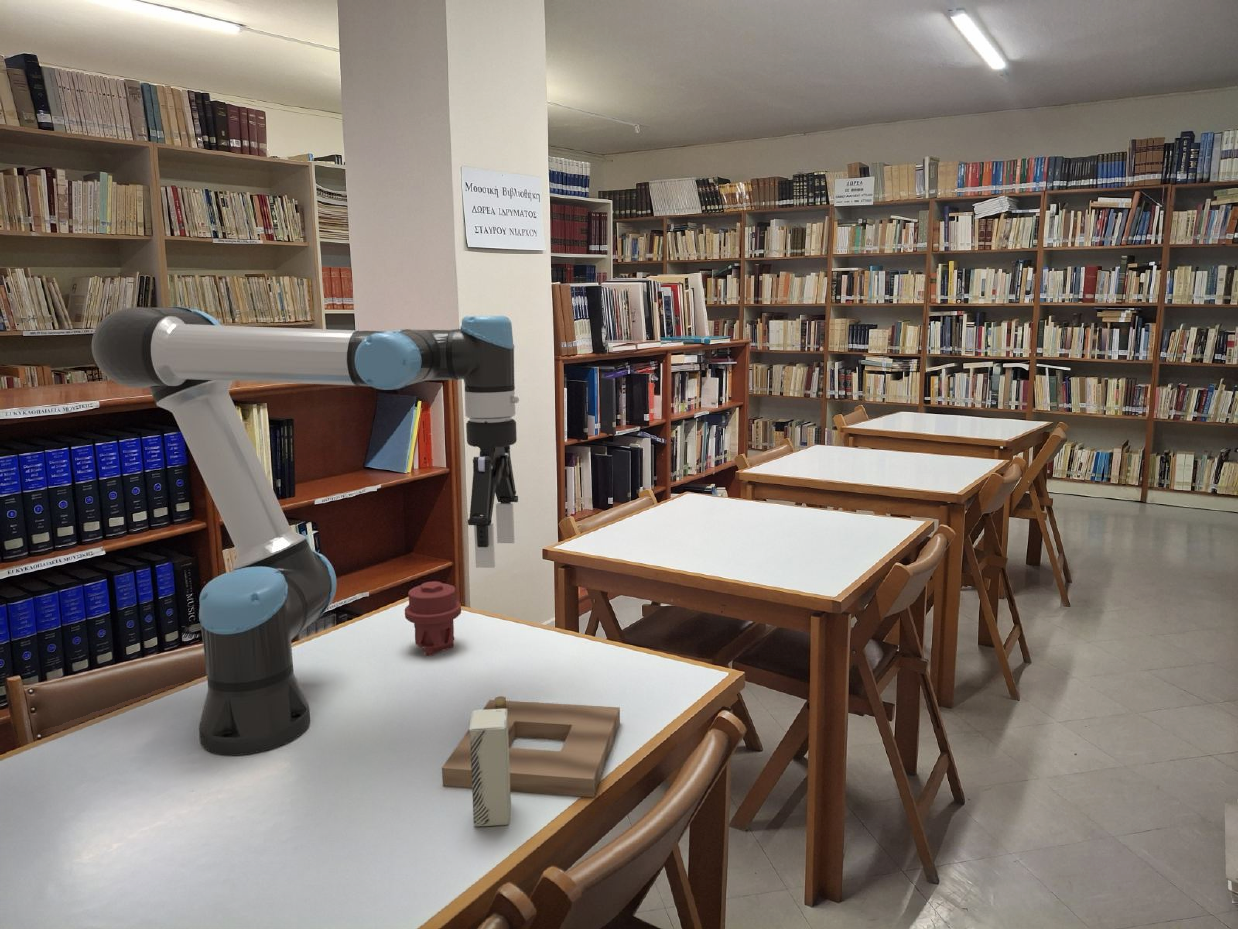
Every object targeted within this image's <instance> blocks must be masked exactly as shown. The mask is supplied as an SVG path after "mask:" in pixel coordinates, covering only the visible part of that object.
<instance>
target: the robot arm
mask: <svg viewBox="0 0 1238 929" xmlns="http://www.w3.org/2000/svg"><path fill="white" fill-rule="evenodd" d="M91 351H92V352H91V353H92V357H93V359H94V361H95V362H94V363H96V366H97V367H98V368H99V370H100V371H101V372H102V373H103V374H104V375H105V377H107V378H109V379H110V380H112V381H113V382H114V383H116V384H119V385H121V386H124V387H126V388H132V389H133V388H134V389H149V391H150V393H151V396H152V398H153V399H154V402H155V404H156V406H157V407H159V408H162V409H164V410H167V411H169V412H170V413H172V415H173V417H174V419H175V421H176V424H177V425H178V428H179V430H180V432H181V434H182V436H183V438H184V441H185V443H186V445H187V447H188V449H189V451H190V454H191V455H192V457H193V460H194V462H195V464H196V466H197V469H198V470H199V473H200V475H201V477H202V479H203V481H204V484H205V485H206V487H207V489H208V492H209V494H210V496H211V499H212V500H213V502H214V505H215V507H216V509H217V510H218V512H219V516H220V518H221V519H222V522H223V523H224V526H225V528H226V530H227V532H228V534H229V538H230V539H231V541H232V543H233V545H234V548H235V550H236V551H237V556H236V558H235V561H234V564H233V566H232V567H233V571H232V572H225V573H223V574H220V575H218V576H217V577H214V578H212V580H210V581H208V582H207V583H206V585H205V584H204V586H203V588H202V589H201V592H200V594H199V598H198V599H199V601H198V602H199V609H198V620H199V622H200V627H201V628H200V630H201V637H202V646H203V653H204V662H205V670H206V679H207V692H206V696H205V700H204V704H203V708H202V714H201V717H200V720H199V724H198V731H199V732H198V733H199V741H200V742H199V743H200V746H201V747H203V749H204V750H206V751H208V752H211V753H214V754H218V755H227V756H228V755H229V756H236V755H237V756H238V755H249V754H250V755H251V754H256V753H260V752H264V751H265V752H266V751H269V750H271V749H275V748H277V747H280V746H284V745H285V744H287V743H289V742H292V741H293V740H295V739H297V738H298V737H300V736H301V735H302V734H304V733H305V732H306V731H307V729H308V728H309V727H310V724H311V712H310V711H311V709H310V704H309V702H308V700H307V699H306V696H305V694H304V692H303V690H302V688H301V686H300V682H299V681H298V679H297V677H296V675H295V671H294V663H293V662H294V661H293V659H294V658H293V652H292V650H293V649H292V640H293V639H294V638H295V637H297V636H298V635H299V634H300V633H301V632H303V631H304V630H305V629H307V627H309V626H310V625H312V624H314V623H315V622H317V621H318V620H319V619H320V618H322V616H323V615H324V614H325V612H326V611H327V609H329V607H330V606H331V605H332V603H333V601H334V598H335V595H336V592H337V587H338V586H337V576H336V572H335V569H334V567H333V565H332V563H331V562H330V560H328V558H327V557H326V556H325V555H323V554H322V553H319V552H318V551H316V550H314V549H312V548H311V546H310V544H309V542H308V539H307V538H306V536H305V535H303V534H300V533H298V532H295V531H294V530H292V529H291V526H290V524H289V522H288V520H287V518H286V516H285V513H284V511H283V509H282V506H281V505H280V502H279V499H278V498H277V495H276V493H275V491H274V489H273V487H272V485H271V483H270V480H269V478H268V476H267V474H266V471H265V469H264V467H263V464H262V462H261V460H260V459H259V456H258V454H257V452H256V450H255V447H254V446H253V443H252V441H251V439H250V436H249V435H248V432H247V430H246V428H245V425H244V424H243V421H242V419H241V416H240V415H239V412H238V410H237V409H236V406H235V404H234V401H233V400H232V397H231V394H230V388H231V386H232V384H233V382H252V383H253V382H256V383H279V384H280V383H281V384H282V383H285V384H306V385H307V384H309V385H314V384H315V385H337V386H340V385H341V386H362V387H372V388H374V389H377V390H384V391H387V390H388V391H390V390H391V391H392V390H400V389H402V388H405V387H406V386H409V385H413V384H417V383H421V382H424V381H440V380H441V381H445V380H448V381H451V380H453V381H459V380H463V384H464V410H465V413H464V414H465V415H464V416H465V417H466V418H468V419H469V420H467V422H466V423H465V426H466V427H465V428H466V429H465V430H466V444H467V445H468V446H470V447H475V448H476V447H477V448H479V456H473V459H472V464H473V466H472V467H473V468H472V470H473V471H472V472H473V473H472V484H471V487H472V488H471V497H470V498H471V499H470V509H469V510H470V511H469V512H470V513H469V518H467V524H468V525H467V526H473V527H474V528H473V530H474V531H473V532H474V534H473V535H474V556H475V568H477V569H478V568H484V569H486V568H488V569H489V568H490V569H492V568H493V569H494V568H495V567H496V560H495V558H496V556H495V554H496V553H495V535H494V534H495V532H494V529H495V528H494V523H492V521H493V520H492V518H493V512H494V504H495V517H496V518H495V519H496V521H495V522H496V539H497V540H496V542H497V544H515V517H514V516H515V515H514V503H518V502H519V495H517V490H516V485H515V479H514V472H513V464H512V460H511V446H513V445H515V444H516V443H517V440H518V438H517V421H516V420H515V419H514V418H512V417H514V416H515V415H516V404H518V403H519V401H520V399H519V397H518V396H515V394H516V393H515V344H514V336H513V324H512V321H511V320H510V318H509V317H507V316H505V315H469V316H467V315H466V316H463V317H462V319H461V326H460V328H456V329H410V328H408V329H407V328H405V329H399V330H389V331H386V330H385V331H382V330H378V331H377V330H352V329H351V330H350V329H327V328H326V329H325V328H324V329H323V328H302V327H301V328H299V327H297V328H296V327H295V328H294V327H269V326H248V325H247V326H242V325H223V324H221V323H220V322H219V321H218V320H216V318H214V317H213V316H211V315H210V314H208V313H206V312H204V311H202V310H199V309H195V308H193V309H192V308H190V307H185V306H169V307H141V306H136V307H125V308H122V309H118V310H115V311H112V312H111V313H109V314H108V315H106V316H105V317H104V318H102V320H101V321H100V322H99V323H98V324H97V326H96V328H95V329H94V331H93V335H92V339H91ZM495 497H496V500H497V503H495Z"/></svg>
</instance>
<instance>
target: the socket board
mask: <svg viewBox="0 0 1238 929" xmlns="http://www.w3.org/2000/svg"><path fill="white" fill-rule="evenodd" d="M620 708H621V707H615V706H602V705H601V706H600V705H585V704H584V705H583V704H568V703H566V704H565V703H555V702H554V703H553V702H551V703H550V702H534V701H519V700H518V701H517V700H516V701H515V700H507V697H506V696H503V695H502V696H496V697H495V698H494V699H489V700H488V702H487V703H486V704H485V706H484V707H483V709H482V710H487V709H507V712H508V736H509V765H510V792H519V793H533V794H544V795H545V794H547V795H557V796H558V795H560V796H570V797H571V796H572V797H583V798H595V795H596V793H597V789H598V787H599V784H600V781H601V778H602V775H603V773H604V770H605V768H606V765H607V761H608V758H609V755H610V752H611V750H612V748H613V745H614V742H615V738H616V736H617V733H618V731H619V727H620V725H621V715H620V714H621V709H620ZM515 738H520V739H538V740H548V741H549V740H551V741H553V740H554V741H564V742H563V745H562V747H561V748H560V750H549V749H547V750H546V749H537V748H536V749H533V748H521V747H518V748H517V747H511V746H512V744H513V742H514V741H515ZM471 773H472V771H471V746H470V730H469V729H468V730H467V732H466V733H465V734H464V736H463V737H462V739H461V740H460V741H459V742H458V744H457V746H456V747H455V748H454V750H453V751H452V753H451V754H450V756H449V757H448V759H447V760H446V761H445V762H444V764H443V765H442V767H441V779H442V786H444V787H453V788H454V787H456V788H457V787H458V788H465V789H466V788H467V789H469V788H471V789H472V774H471Z"/></svg>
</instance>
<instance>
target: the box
mask: <svg viewBox="0 0 1238 929" xmlns="http://www.w3.org/2000/svg"><path fill="white" fill-rule="evenodd" d="M468 730H470V746H471V771H472V773H471V774H472V788H471V790H472V791H471V792H472V793H471V794H472V815H473V826H474V827H491V826H493V827H494V826H505V825H509V824H510V822H511V821H510V820H511V810H512V809H511V808H512V807H511V806H512V798H511V796H512V795H511V791H510V765H509V736H508V712H507V709H487V710H483V709H474V710H472V713H471V715H470V722H469V728H468Z"/></svg>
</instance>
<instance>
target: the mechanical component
mask: <svg viewBox="0 0 1238 929" xmlns="http://www.w3.org/2000/svg"><path fill="white" fill-rule="evenodd" d="M456 594H457V593H456V587H455V586H454V585H451V584H448V583H442V582H440V581H436V580H435V581H434V580H433V581H427V582H423V583H422V584H421V585H417V586H415V587H413V588H411V589H410V590H408V605H407V606H406V607H405V608H404V618H405V619H406V620H407V621H408V622H410V623H412V624H413V625H414V626H413V627H414V642H415V645H416V646H417V647H419V648H423V649H424V654H425V656H428V657H431V656H433V655H435V654H437V653H439V652H442V651H445V650H448V649H452V648H453V647H454V644H455V643H454V641H455V635H454V634H455V631H454V630H455V626H454V624H455V623H454V620H455V619H457V618H458V617H459V616H460V615H461V614H462V603H460V602H459V600H457V595H456Z"/></svg>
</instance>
